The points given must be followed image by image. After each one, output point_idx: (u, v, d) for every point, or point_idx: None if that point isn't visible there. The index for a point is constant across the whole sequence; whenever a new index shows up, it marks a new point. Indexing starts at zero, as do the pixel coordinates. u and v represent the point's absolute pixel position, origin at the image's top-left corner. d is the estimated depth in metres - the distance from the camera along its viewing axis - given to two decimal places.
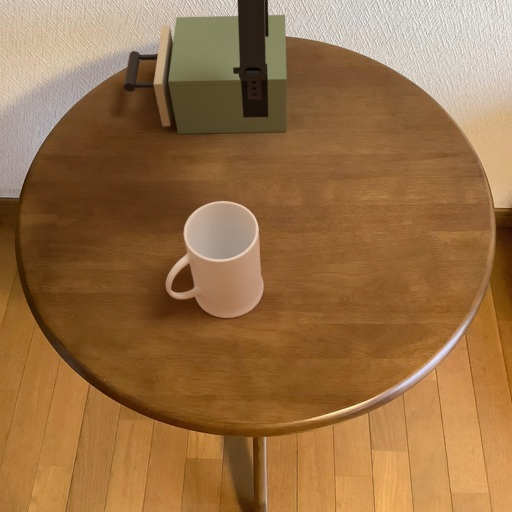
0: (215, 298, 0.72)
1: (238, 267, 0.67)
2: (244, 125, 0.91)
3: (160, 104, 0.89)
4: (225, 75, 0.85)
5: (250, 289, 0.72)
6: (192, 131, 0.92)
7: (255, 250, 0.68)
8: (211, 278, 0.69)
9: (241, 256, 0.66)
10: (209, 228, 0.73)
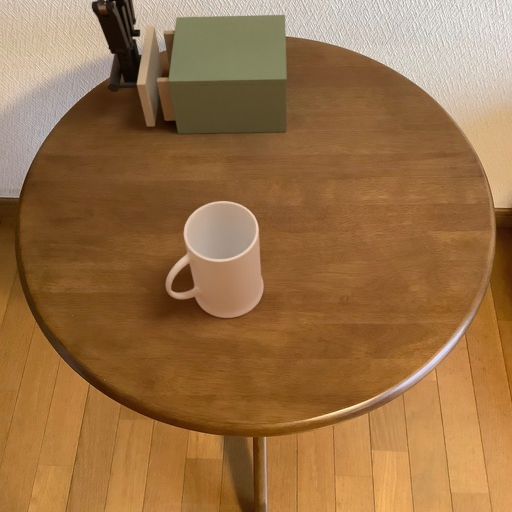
0: (215, 298, 0.72)
1: (238, 267, 0.67)
2: (244, 125, 0.91)
3: (144, 104, 0.89)
4: (225, 75, 0.85)
5: (250, 289, 0.72)
6: (192, 131, 0.92)
7: (255, 250, 0.68)
8: (211, 278, 0.69)
9: (241, 256, 0.66)
10: (209, 228, 0.73)
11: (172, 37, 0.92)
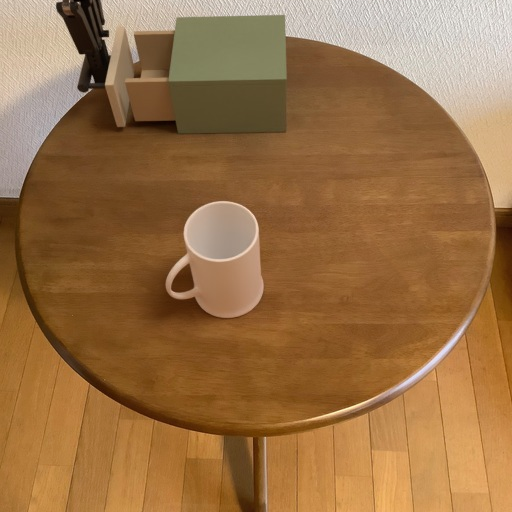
0: (215, 298, 0.72)
1: (238, 267, 0.67)
2: (244, 125, 0.91)
3: (113, 105, 0.89)
4: (225, 75, 0.85)
5: (250, 289, 0.72)
6: (192, 131, 0.92)
7: (255, 250, 0.68)
8: (211, 278, 0.69)
9: (241, 256, 0.66)
10: (209, 228, 0.73)
11: (142, 38, 0.93)
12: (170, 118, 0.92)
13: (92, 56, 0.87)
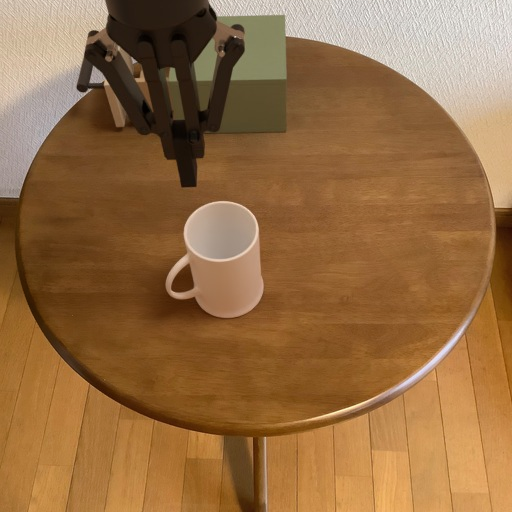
0: (215, 298, 0.72)
1: (238, 267, 0.67)
2: (244, 125, 0.91)
3: (112, 105, 0.89)
4: None
5: (250, 289, 0.72)
6: None
7: (255, 250, 0.68)
8: (211, 278, 0.69)
9: (241, 256, 0.66)
10: (209, 228, 0.73)
11: None
12: None
13: None
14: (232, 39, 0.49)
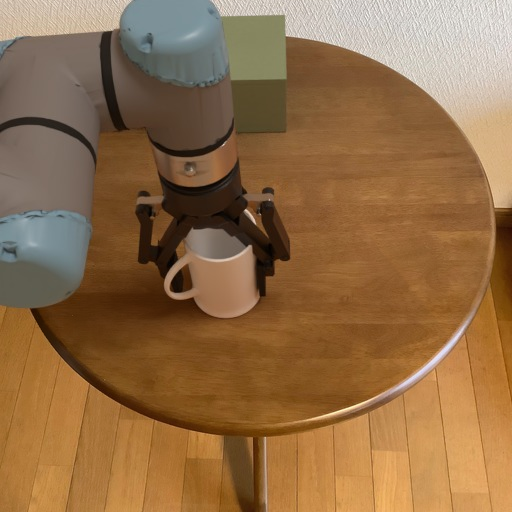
0: (214, 298, 0.72)
1: (237, 267, 0.67)
2: (244, 125, 0.91)
3: None
4: None
5: (248, 289, 0.72)
6: None
7: None
8: (210, 278, 0.69)
9: (240, 256, 0.66)
10: (207, 228, 0.73)
11: None
12: None
13: None
14: (262, 203, 0.62)
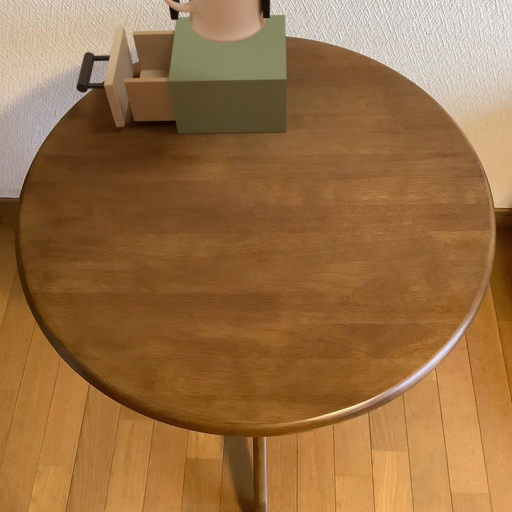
0: (213, 7, 0.65)
1: None
2: (244, 125, 0.91)
3: (112, 105, 0.89)
4: (225, 75, 0.85)
5: None
6: (192, 131, 0.92)
7: None
8: None
9: None
10: None
11: (141, 38, 0.93)
12: (169, 118, 0.92)
13: None
14: None
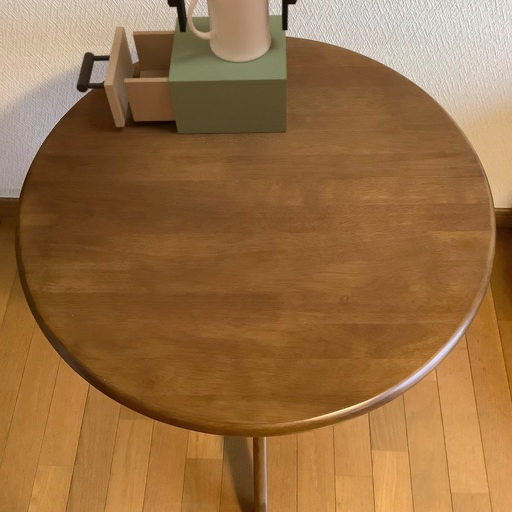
0: (230, 35, 0.83)
1: None
2: (244, 125, 0.91)
3: (112, 105, 0.89)
4: (225, 75, 0.85)
5: (260, 28, 0.83)
6: (192, 131, 0.92)
7: None
8: (227, 6, 0.79)
9: None
10: None
11: (141, 38, 0.93)
12: (169, 118, 0.92)
13: None
14: None
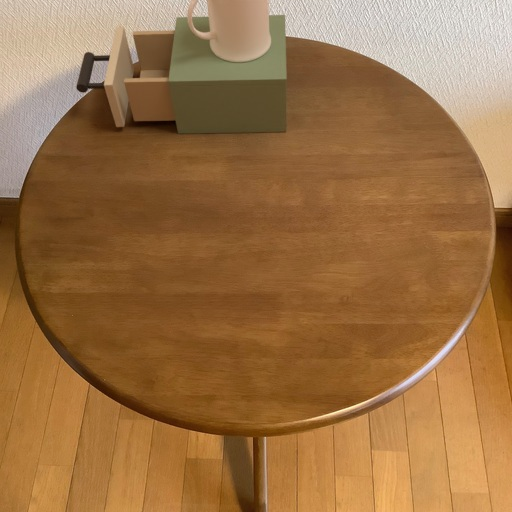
0: (230, 35, 0.83)
1: None
2: (244, 125, 0.91)
3: (112, 105, 0.89)
4: (225, 75, 0.85)
5: (260, 28, 0.83)
6: (192, 131, 0.92)
7: None
8: (227, 6, 0.79)
9: None
10: None
11: (141, 38, 0.93)
12: (169, 118, 0.92)
13: None
14: None
